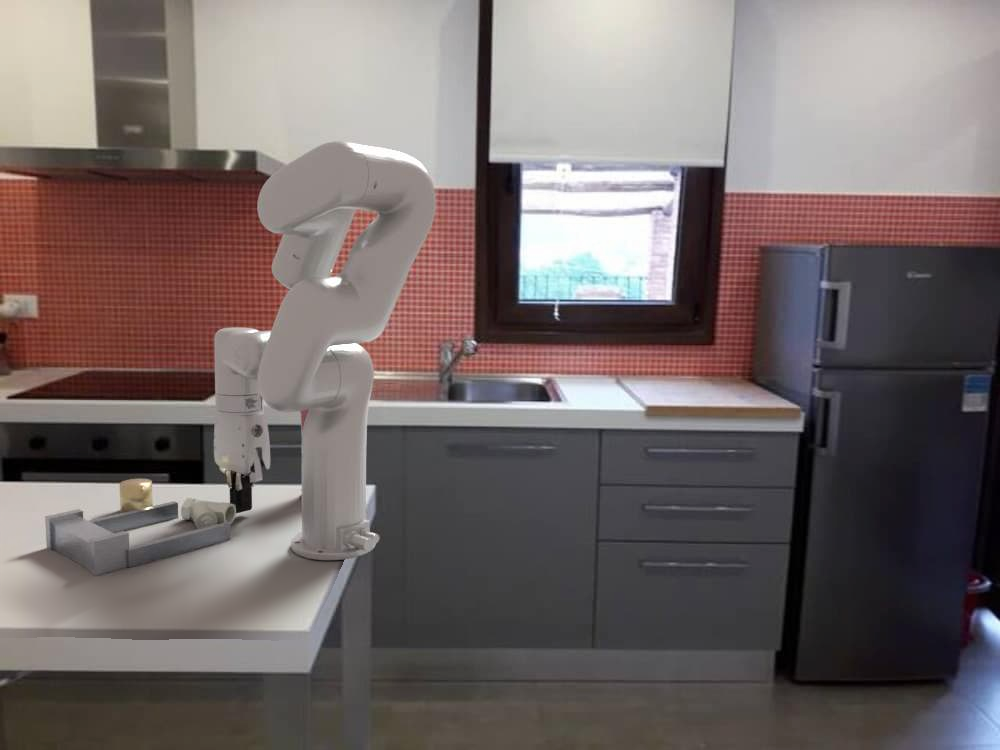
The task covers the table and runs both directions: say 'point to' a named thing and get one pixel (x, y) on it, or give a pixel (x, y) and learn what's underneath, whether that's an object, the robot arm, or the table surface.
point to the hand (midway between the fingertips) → (241, 510)
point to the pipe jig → (123, 538)
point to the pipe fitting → (207, 512)
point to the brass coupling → (135, 494)
